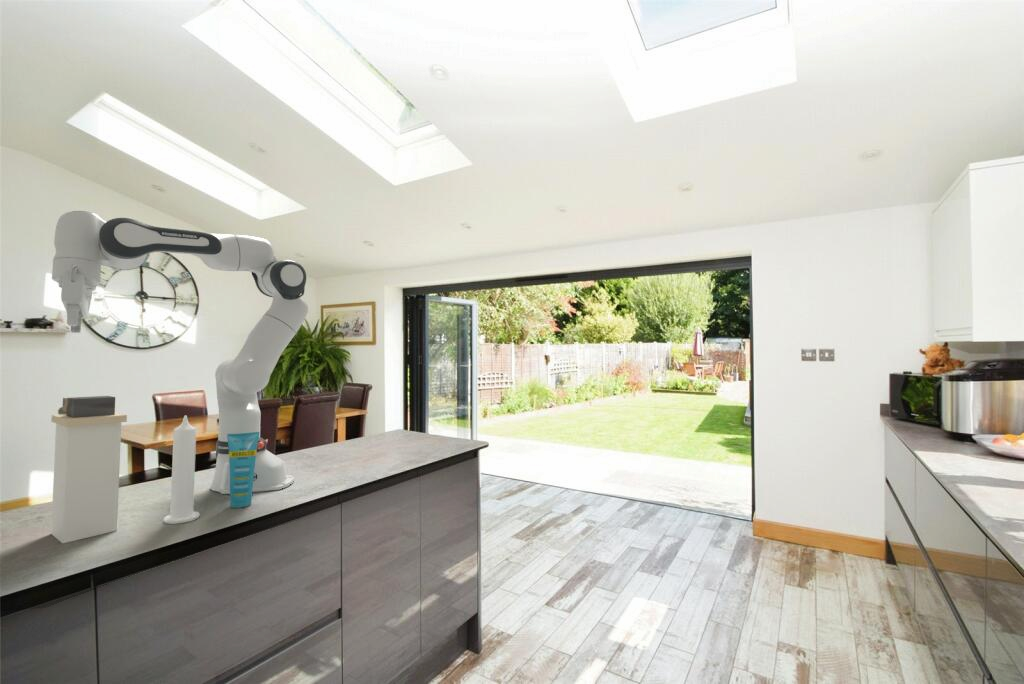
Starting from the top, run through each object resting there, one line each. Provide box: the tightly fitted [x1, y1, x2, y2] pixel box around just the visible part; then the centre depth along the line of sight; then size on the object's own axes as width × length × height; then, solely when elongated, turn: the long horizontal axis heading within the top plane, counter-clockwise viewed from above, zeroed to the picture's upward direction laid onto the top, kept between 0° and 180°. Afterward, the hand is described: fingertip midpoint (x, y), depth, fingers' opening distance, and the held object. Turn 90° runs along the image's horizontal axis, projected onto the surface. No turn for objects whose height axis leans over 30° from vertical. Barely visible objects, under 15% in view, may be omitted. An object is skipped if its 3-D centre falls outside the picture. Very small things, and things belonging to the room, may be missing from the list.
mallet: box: [61, 395, 116, 418], centre depth 107 cm, size 7×18×4 cm, turn 56°
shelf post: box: [50, 412, 128, 544], centre depth 104 cm, size 12×10×26 cm
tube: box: [227, 432, 259, 509], centre depth 123 cm, size 7×5×19 cm, turn 123°
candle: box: [163, 415, 200, 525], centre depth 113 cm, size 7×7×25 cm
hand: (74, 329), depth 114 cm, fingers open, 8 cm apart
